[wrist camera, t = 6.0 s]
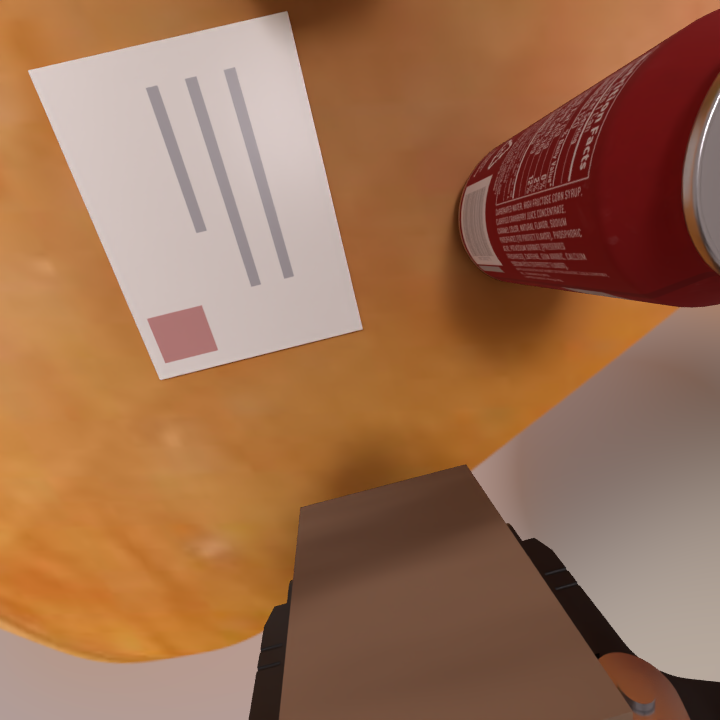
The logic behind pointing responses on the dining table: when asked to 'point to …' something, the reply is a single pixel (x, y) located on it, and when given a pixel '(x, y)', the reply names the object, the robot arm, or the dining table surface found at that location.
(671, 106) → the soda can
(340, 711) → the walnut block
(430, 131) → the dining table surface
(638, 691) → the robot arm
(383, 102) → the dining table surface
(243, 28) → the letter
